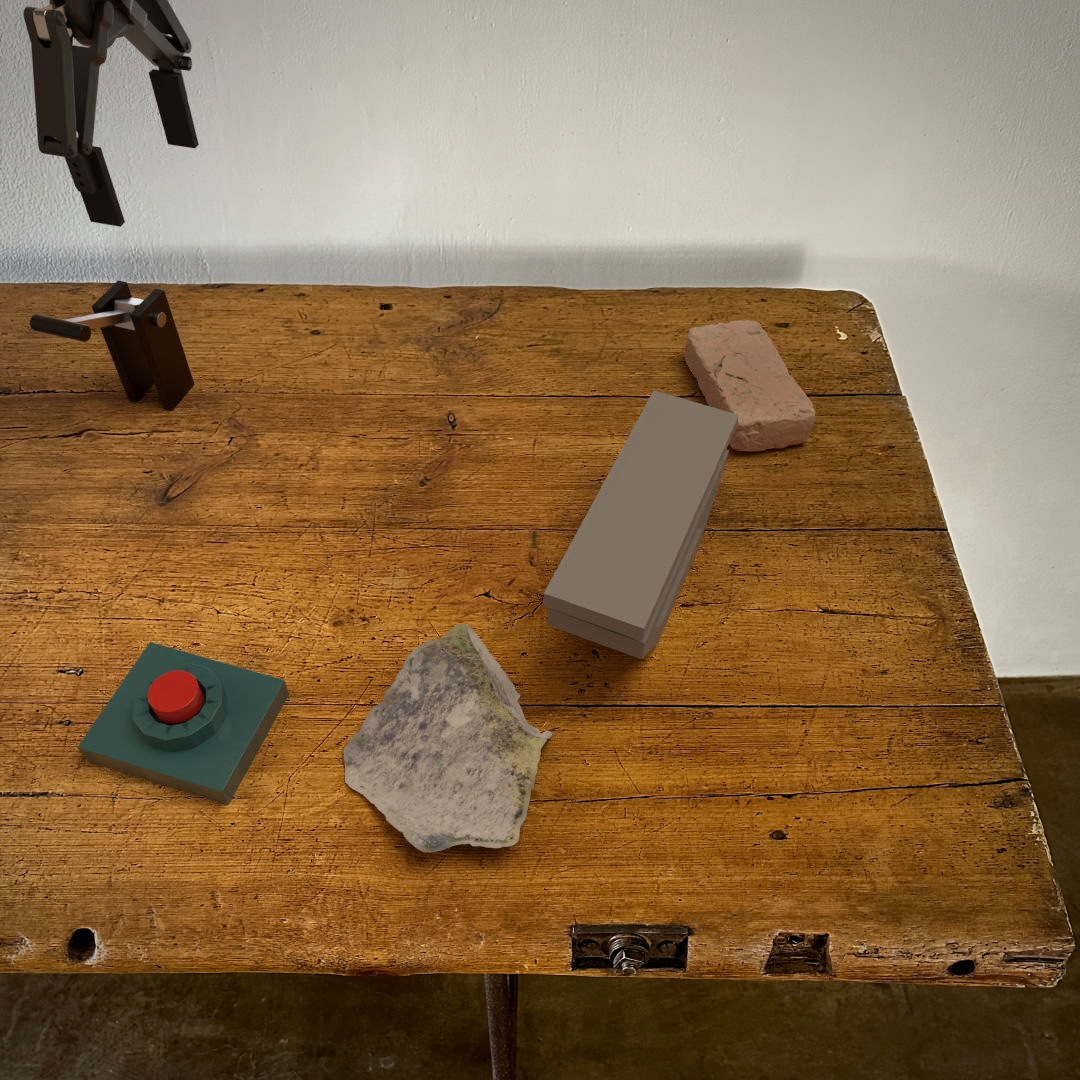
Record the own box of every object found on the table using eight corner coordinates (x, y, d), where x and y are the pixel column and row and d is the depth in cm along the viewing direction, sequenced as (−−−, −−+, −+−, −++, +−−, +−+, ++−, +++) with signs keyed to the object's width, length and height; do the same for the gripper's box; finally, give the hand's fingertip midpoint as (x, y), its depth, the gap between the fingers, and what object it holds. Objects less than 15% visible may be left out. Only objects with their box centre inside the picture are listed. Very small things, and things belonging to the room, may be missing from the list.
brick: (679, 356, 107) (684, 321, 103) (750, 346, 108) (758, 311, 105) (732, 461, 97) (740, 426, 93) (810, 448, 98) (821, 413, 94)
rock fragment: (463, 648, 82) (461, 609, 78) (605, 772, 74) (610, 735, 70) (320, 758, 74) (309, 721, 71) (460, 907, 67) (457, 875, 63)
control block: (86, 761, 74) (68, 735, 71) (157, 656, 80) (143, 628, 77) (228, 805, 72) (216, 780, 69) (289, 694, 78) (280, 667, 75)
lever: (80, 348, 82) (80, 320, 82) (29, 337, 83) (28, 309, 82) (166, 329, 93) (166, 304, 93) (120, 319, 94) (119, 294, 93)
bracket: (173, 449, 96) (135, 345, 86) (93, 430, 98) (47, 326, 88) (232, 374, 104) (203, 271, 94) (158, 357, 105) (121, 254, 95)
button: (144, 716, 72) (137, 704, 71) (170, 677, 75) (164, 664, 73) (187, 729, 72) (181, 717, 70) (212, 689, 74) (206, 677, 73)
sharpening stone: (641, 475, 95) (653, 390, 87) (718, 499, 93) (738, 414, 85) (540, 673, 80) (543, 593, 72) (630, 707, 78) (644, 628, 70)
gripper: (12, -27, 61) (114, 266, 77) (194, -142, 77) (247, 121, 93) (-95, -42, 62) (28, 252, 78) (106, -151, 77) (174, 111, 94)
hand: (147, 181), depth 85 cm, fingers open, 13 cm apart
